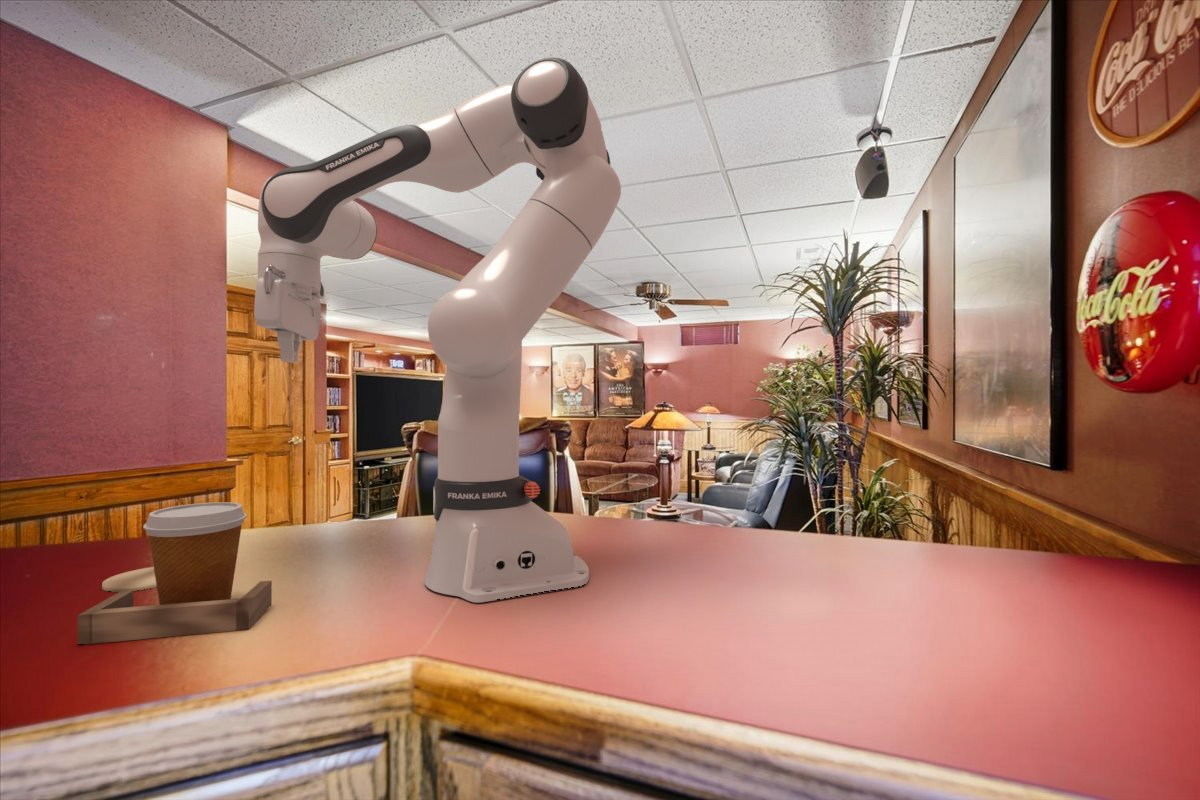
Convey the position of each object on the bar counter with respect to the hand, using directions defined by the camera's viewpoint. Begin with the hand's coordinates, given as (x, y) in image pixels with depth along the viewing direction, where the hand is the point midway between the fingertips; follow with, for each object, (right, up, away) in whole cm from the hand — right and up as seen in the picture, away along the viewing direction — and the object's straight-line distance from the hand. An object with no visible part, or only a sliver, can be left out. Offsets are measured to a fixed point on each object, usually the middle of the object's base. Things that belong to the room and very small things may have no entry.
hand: (289, 362), depth 86 cm
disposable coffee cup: (+4, -31, -25) cm, 40 cm away
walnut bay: (+5, -31, -27) cm, 41 cm away
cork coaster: (-11, -31, -14) cm, 36 cm away
